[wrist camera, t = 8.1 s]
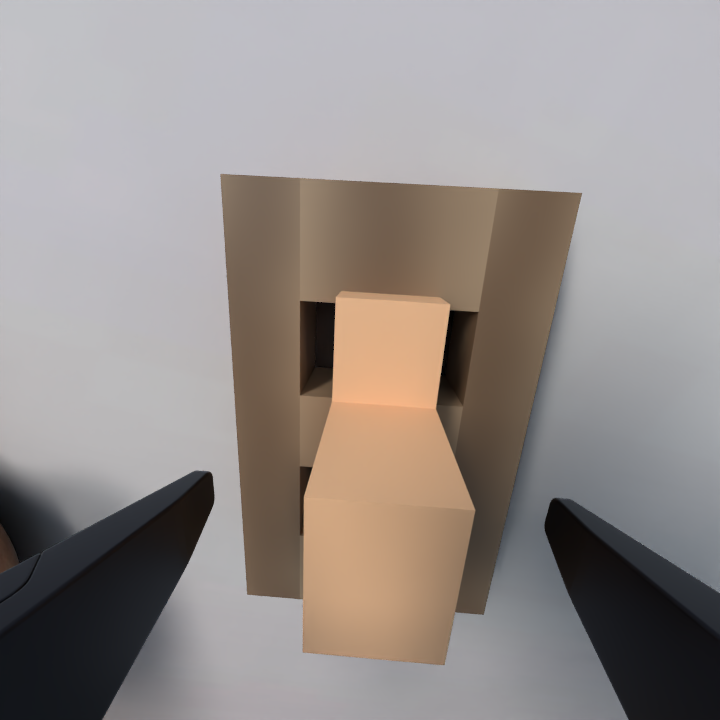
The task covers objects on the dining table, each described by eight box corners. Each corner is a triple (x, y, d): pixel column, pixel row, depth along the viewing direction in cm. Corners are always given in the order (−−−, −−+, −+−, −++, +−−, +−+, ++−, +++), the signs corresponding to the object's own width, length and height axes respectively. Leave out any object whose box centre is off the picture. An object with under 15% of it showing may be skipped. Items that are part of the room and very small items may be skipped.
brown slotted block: (533, 207, 12) (581, 193, 9) (465, 553, 17) (483, 614, 14) (256, 192, 12) (220, 173, 9) (268, 537, 17) (247, 594, 14)
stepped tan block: (425, 287, 13) (508, 344, 5) (401, 499, 16) (427, 750, 8) (348, 283, 13) (305, 330, 5) (338, 494, 16) (302, 737, 8)
